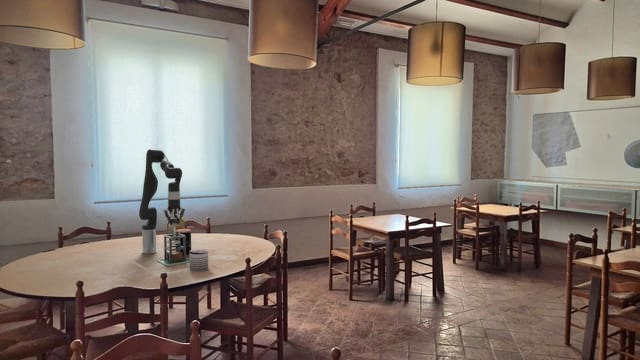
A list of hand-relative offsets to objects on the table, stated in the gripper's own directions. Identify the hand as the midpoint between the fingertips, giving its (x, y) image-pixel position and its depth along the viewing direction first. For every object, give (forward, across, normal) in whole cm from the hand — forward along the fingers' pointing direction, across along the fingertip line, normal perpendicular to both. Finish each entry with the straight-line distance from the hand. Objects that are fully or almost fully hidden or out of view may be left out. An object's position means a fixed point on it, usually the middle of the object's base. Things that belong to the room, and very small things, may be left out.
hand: (174, 224), depth 283 cm
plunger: (+12, 0, 0) cm, 12 cm away
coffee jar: (+26, -12, -16) cm, 33 cm away
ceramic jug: (+26, -28, -69) cm, 79 cm away
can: (+26, -6, +24) cm, 36 cm away
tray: (+25, 0, 0) cm, 25 cm away
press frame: (+24, 0, 0) cm, 24 cm away
